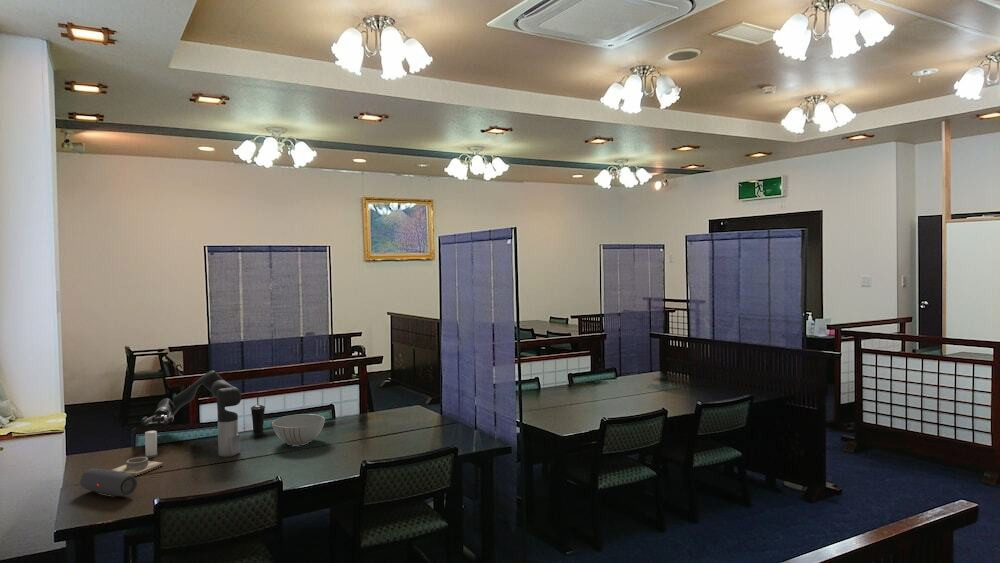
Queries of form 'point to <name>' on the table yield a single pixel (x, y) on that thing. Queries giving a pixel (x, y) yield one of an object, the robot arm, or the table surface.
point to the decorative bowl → (298, 428)
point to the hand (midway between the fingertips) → (155, 423)
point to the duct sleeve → (151, 444)
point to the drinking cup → (258, 417)
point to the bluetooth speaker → (108, 482)
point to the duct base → (138, 471)
